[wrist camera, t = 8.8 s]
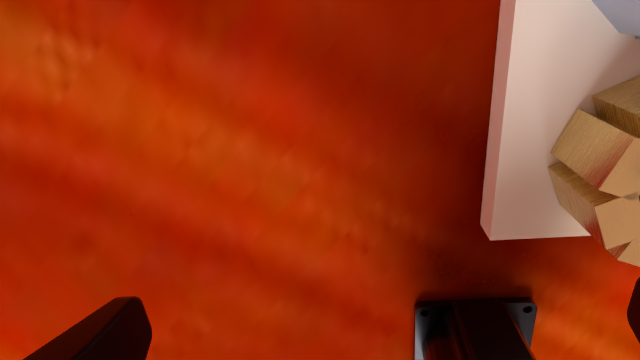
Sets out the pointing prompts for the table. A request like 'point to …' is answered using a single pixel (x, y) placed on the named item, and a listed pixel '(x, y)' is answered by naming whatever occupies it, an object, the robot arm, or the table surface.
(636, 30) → the slate gear
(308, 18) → the table surface
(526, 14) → the gear board
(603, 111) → the brass gear
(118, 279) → the table surface
